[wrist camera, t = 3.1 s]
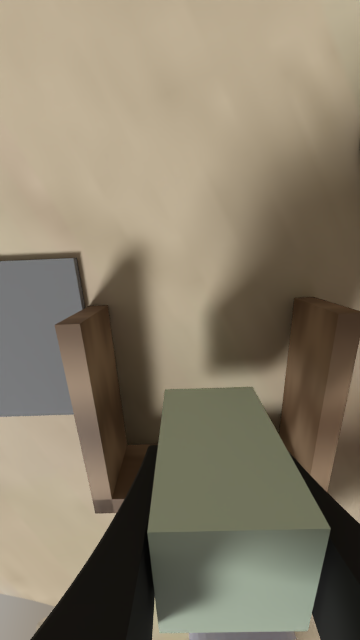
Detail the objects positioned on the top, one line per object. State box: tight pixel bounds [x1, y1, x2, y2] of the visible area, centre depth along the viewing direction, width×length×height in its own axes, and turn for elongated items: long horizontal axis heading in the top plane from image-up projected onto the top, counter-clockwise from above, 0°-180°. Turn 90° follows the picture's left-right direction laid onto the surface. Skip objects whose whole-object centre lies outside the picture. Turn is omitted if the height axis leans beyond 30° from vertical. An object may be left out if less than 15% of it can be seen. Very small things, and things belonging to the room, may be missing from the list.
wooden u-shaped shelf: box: [55, 297, 360, 513], centre depth 14 cm, size 13×14×4 cm
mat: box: [0, 258, 85, 417], centre depth 14 cm, size 11×11×1 cm
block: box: [147, 387, 331, 633], centre depth 9 cm, size 4×4×6 cm
